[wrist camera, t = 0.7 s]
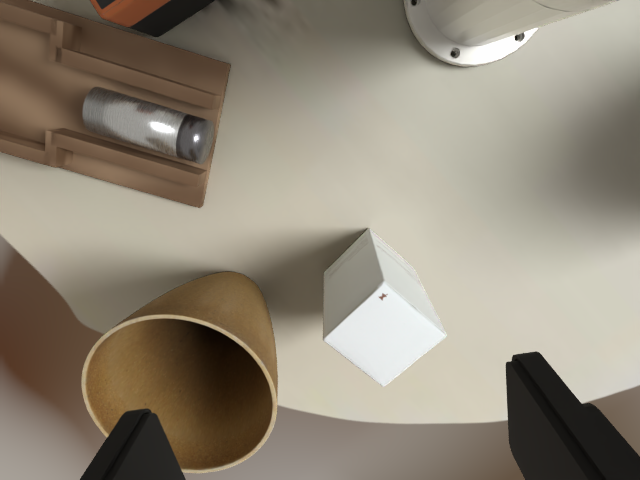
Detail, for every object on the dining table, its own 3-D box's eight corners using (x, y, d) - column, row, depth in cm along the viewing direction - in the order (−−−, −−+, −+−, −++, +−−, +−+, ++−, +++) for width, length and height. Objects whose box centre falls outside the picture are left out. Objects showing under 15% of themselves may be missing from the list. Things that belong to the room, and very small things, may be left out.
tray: (-50, -25, 34) (-91, -38, 30) (230, 64, 36) (220, 61, 32) (-44, 134, 38) (-79, 137, 35) (203, 205, 40) (191, 214, 37)
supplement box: (321, 272, 43) (318, 339, 31) (369, 225, 41) (385, 278, 29) (368, 312, 44) (382, 390, 32) (416, 269, 42) (450, 336, 30)
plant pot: (313, 265, 42) (304, 357, 27) (271, 368, 47) (243, 494, 32) (182, 217, 41) (96, 287, 26) (152, 329, 46) (66, 442, 31)
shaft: (110, 86, 35) (84, 85, 32) (216, 119, 36) (203, 122, 32) (106, 130, 37) (80, 133, 33) (208, 160, 38) (195, 167, 34)
